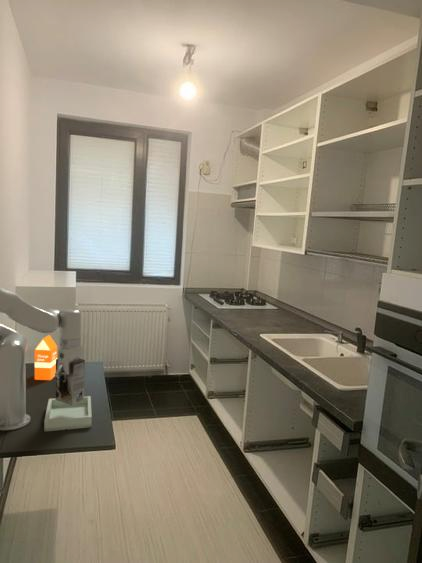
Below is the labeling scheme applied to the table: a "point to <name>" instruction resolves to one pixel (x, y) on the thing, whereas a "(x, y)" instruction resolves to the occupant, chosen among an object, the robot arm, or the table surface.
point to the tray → (68, 415)
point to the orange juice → (45, 359)
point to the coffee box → (72, 383)
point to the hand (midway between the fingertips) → (69, 387)
